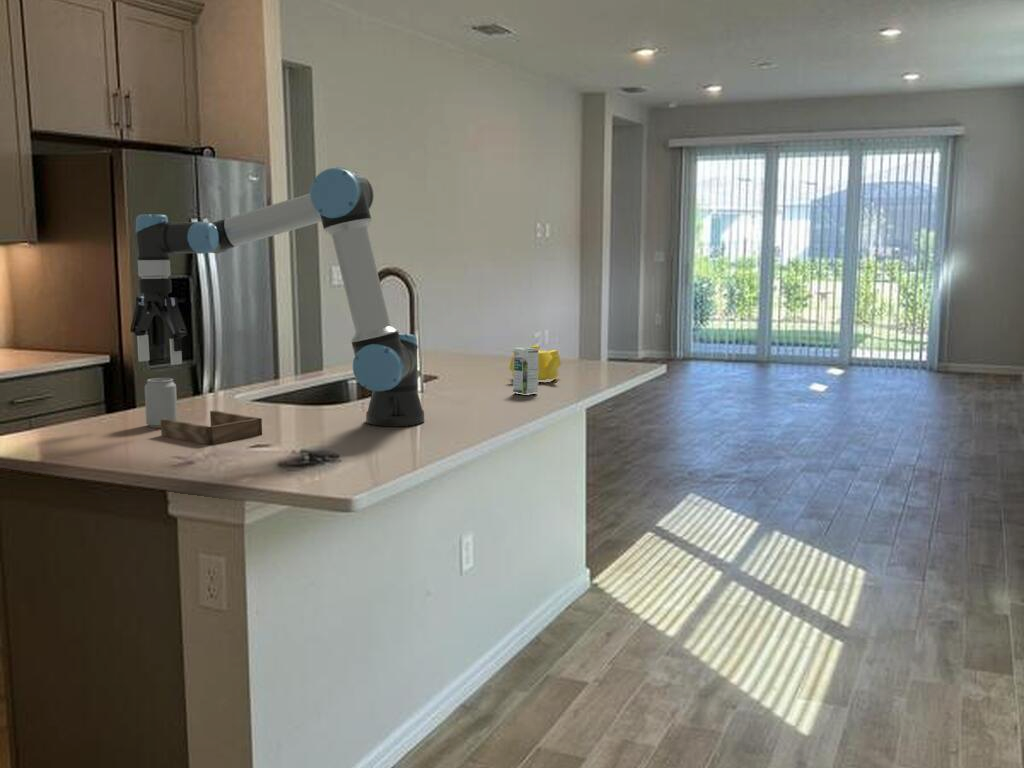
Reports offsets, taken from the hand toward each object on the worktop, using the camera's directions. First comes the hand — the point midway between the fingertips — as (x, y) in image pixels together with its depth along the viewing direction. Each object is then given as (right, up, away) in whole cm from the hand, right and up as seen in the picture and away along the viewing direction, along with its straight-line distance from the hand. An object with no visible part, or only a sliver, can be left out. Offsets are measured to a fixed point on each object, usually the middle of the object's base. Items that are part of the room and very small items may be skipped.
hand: (160, 362), depth 243 cm
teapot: (+96, -4, +87) cm, 130 cm away
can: (0, -16, +2) cm, 16 cm away
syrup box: (+92, -9, +57) cm, 109 cm away
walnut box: (+16, -18, -9) cm, 26 cm away
